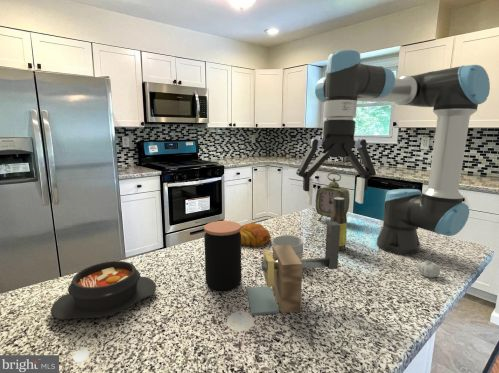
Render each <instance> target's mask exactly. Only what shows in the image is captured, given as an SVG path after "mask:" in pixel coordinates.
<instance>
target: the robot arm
mask: <svg viewBox="0 0 499 373" xmlns="http://www.w3.org/2000/svg"><path fill="white" fill-rule="evenodd" d="M361 62H362V60H361V54H360V52H359V51H357V50H353V49H343V50H337V51H334V52H332V53H331V54H329V55H328V58H327V62H326V71H325V76H323V77H320V78H319V79H318V80H317V82H316V84H315V87H314V95H315V96H316V98H317V100H318V101H319V102H321V103H324V109H323V111H324V112H323V117H324V118H325V119H326V120H324V121H323V127H322V128H323V130H322V139H320V140H319V139H317V138H311V139H310V141H309V147H308V149H307V151H306V153H305V155H304V157H303V158H302V161H301V162H300V164H299V167H298V168H297V170H296V171H295V174H296V175H297V176H299V177H302V189H303V191H305V194H306V195H305V203H306V204H307V205H309V206H311V205H313V192H314V191H313V190H314V179H313V178H312V176H314V174H315V173H316V172H317V170H319V168H320V167H321V166H322V165H323V164H324V163H325V162H326V160H328V159H329V158H346V159H347V160H348V161H349V162H350V164H351V165H352V167H353V168H354V169H355V171H356V172H357V173H358V175H359V177H358V176H357V177H356V184H355V185H356V186H355V187H356V189H355V198H354V199H355V201H354V202H356V203H358V204H360V205H361V204H364V195H365V191H367V190H368V181H369V179H371V177H373V176H376V175H377V171H376V169H375V166H374V164H373V161H372V158H371V156H370V154H369V151H368V149H367V140H366V139H363V138H362V139H361V138H359V139H357V140H355V132H356V120H355V118H356V117H357V107H358V102H364V103H365V102H375V103H377V102H378V103H379V102H380V103H385V102H386V103H394V104H396V105H399V106H410V107H411V106H412V107H419V108H420V107H421V108H432V109H433V110H432V112H433V113H434V114H435V116H437V119H436V128H435V133H434V141H433V149H432V156H431V162H430V169H429V177H428V183H427V184H428V185H427V188H426V189H424V190H423V191H421V190H420V189H415V188H398V189H391V190H388V191H387V192H386V194H385V200H384V210H383V211H384V213H383V221H382V222H383V223H382V224H383V225H382V228H381V229H380V232H379V234H378V237H377V238H376V246H377V247H378V248H380V249H381V250H383V251H386V252H389V253H392V254H396V255H397V254H398V255H404V256H406V255H416V254H419V253H420V251H421V250H420V249H421V244H420V239H419V236H418V232H417V229H422V230H426V231H428V232H431V233H435V234H436V235H442V236H446V237H452V236H456V235H457V234H458V233H460V231H462V229H463V228H464V227H465V226H466V224H467V222H468V220H469V216H470V207H469V206H468V204H466V203H464V202H463V200H464V195H462V194H461V193H460V191H459V189H460V182H461V177H462V171H463V170H462V169H463V162H464V156H465V152H466V150H465V149H466V143H467V139H468V138H467V137H468V131H469V125H470V124H469V123H470V118H471V116H473V115H474V114H475V113H476V112H478V106H479V105H481V104H483V103H485V102H486V101H487V99H488V97H489V96H490V95H489V94H490V89H491V88H490V87H491V86H490V83H491V82H490V78H489V75H488V73H487V70H486V69H485V68H484V67H483V66H481V65H479V64H468V65H467V64H466V65H461V66H455V67H450V68H444V69H440V70H433V71H429V72H423V73H419V74H415V75H402V76H400V77H399V78H397V77H395V73H394V72H393V70H392V69H390V68H387V67H384V66H381V65H379V66H377V65H376V66H375V65H372V64H371V65H370V64H365V63H361ZM320 147H322V149H323V150H322V151H321V152H320V153H319V155H318V157H316V159H314V161H313V162H312V163H311V161H312V159H313V158H314V156H315V155H316V152H317V149H319V148H320ZM354 147H355V148H356V149H357V151H358V154H359V156H360V159H361V162H362V163H361V162H360V161H359V159H358V157H356V154H355V152H353V148H354ZM310 163H311V164H310Z"/></svg>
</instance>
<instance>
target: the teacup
mask: <svg viewBox="0 0 499 373" xmlns="http://www.w3.org/2000/svg"><path fill="white" fill-rule="evenodd" d="M303 239H304V238H301V237H300V236H297V235H292V234H290V235H289V234H288V233H283V234H282V235H279V236H275V237H273V238H272V239H271V245H272V246H271V247H272V248H271V249H272V250H271V251H273V246H278V245H290V246H291V247H292V249H293V250H294V252H295V253H296V255H297V256H298V258H299V259H303V256H304V240H303Z"/></svg>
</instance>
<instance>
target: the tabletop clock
mask: <svg viewBox="0 0 499 373" xmlns="http://www.w3.org/2000/svg"><path fill="white" fill-rule="evenodd" d="M330 175H338V176H339V179H336V178H335V177H334V178H329V176H330ZM327 179H328V180H329V181H330V182H329V183H328V185H326V186H323V187H320V188H317V191H316V194H315V211H316V213H317V214H318V215H320V217H318V218H317V219H318V221H319V220H321V221H322V218H323V217H326V218H330V216H331V213H332V212H333V210H334V198H336V197H340V198H344V199H345V202H344V212H345V213H346V215H347V214H348V212H349V208H350V191H349V190H348V189H347V188H345V187H341V186H340V185H339V183H338V182H339V181H341V179H342V176H341V175H340V173H338V172H331V173H328V175H327Z"/></svg>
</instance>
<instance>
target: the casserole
mask: <svg viewBox="0 0 499 373" xmlns="http://www.w3.org/2000/svg"><path fill="white" fill-rule="evenodd" d="M156 290H157V284H156V283H155V281H154V280H153V279H151V278H150V277H147V276H141V272H140V270H138V269H137V268H136V266H135V265H134V264H132V263H131V262H129V261H122V260H117V261H116V260H114V261H106V262H100V263H96V264H94V265H93V264H92V265H91V266H89V267H85V268H84V269H81V270H80V271H78V272H77V273H76V274H74V276H73V278H72V280H71V283H70V284H69V285H68V288H67V291H68V292H67V293H66V294H64V295H61V296H60V297H58V299H57V300H55V302H54V303H53V305H51V309H50V314H51V316H52V318H53V319H56V320H61V321H64V320H73V319H94V318H95V319H96V318H102V317H107V316H110V315H111V316H112V315H113V314H118V313H120V312H123V311H124V310H126V309H128V308H130V307H131V306H133V305H134V304H136V303H138V302H140V301H143V300H145V299H147V298H149V297H151V296H152V295H154V294H155V292H156Z"/></svg>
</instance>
